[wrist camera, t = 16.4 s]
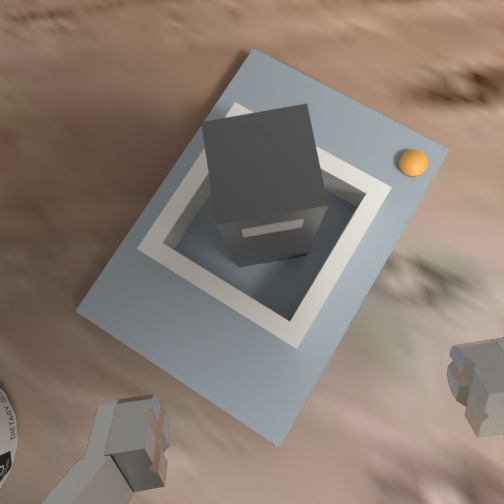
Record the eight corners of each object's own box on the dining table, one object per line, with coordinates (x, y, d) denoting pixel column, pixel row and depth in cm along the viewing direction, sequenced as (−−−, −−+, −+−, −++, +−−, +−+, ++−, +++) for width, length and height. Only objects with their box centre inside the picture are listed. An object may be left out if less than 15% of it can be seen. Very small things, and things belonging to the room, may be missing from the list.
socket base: (254, 57, 28) (251, 20, 25) (443, 156, 26) (468, 130, 23) (82, 311, 26) (53, 308, 22) (278, 442, 24) (279, 461, 20)
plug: (293, 191, 25) (306, 101, 15) (306, 256, 24) (328, 206, 15) (228, 202, 25) (200, 121, 16) (239, 268, 25) (216, 226, 15)
